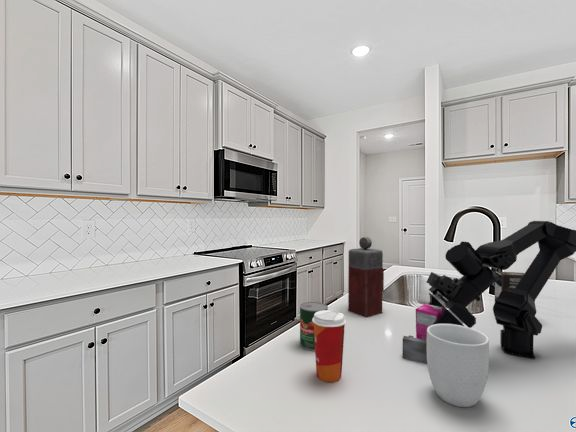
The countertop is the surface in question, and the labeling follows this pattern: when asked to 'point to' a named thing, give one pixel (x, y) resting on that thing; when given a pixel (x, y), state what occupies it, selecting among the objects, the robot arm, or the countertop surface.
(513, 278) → the coffee box
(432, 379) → the mug
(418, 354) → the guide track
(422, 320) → the supplement box
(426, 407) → the countertop surface
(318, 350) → the paper cup
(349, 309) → the pepper mill
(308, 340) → the canned tomato
